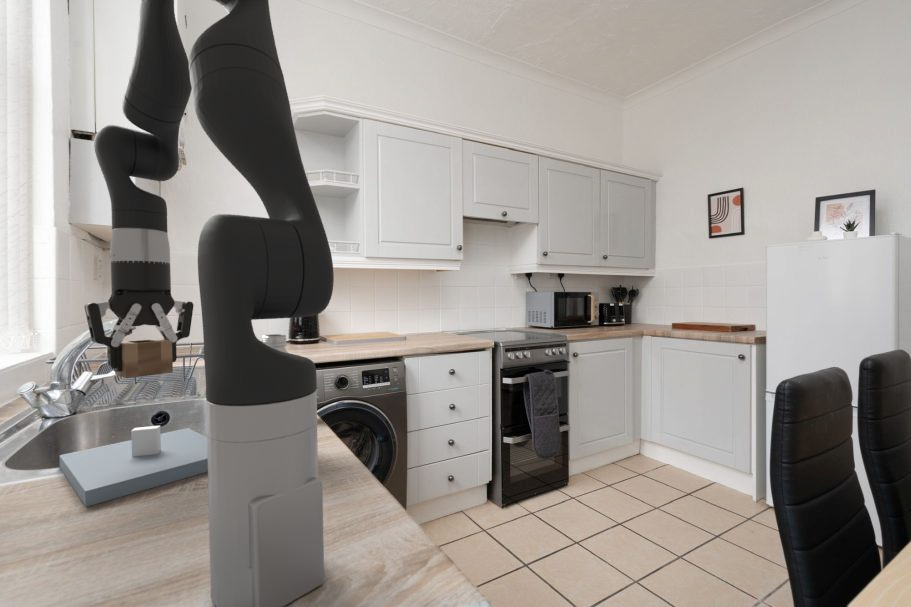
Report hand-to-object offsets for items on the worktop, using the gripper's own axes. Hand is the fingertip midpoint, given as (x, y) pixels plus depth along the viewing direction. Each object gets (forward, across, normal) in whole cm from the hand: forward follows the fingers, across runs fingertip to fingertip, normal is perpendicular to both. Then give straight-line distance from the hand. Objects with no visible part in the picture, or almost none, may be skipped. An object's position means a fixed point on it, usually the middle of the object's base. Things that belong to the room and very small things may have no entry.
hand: (144, 368), depth 68 cm
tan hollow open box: (+1, 0, 0) cm, 1 cm away
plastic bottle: (+16, +15, -12) cm, 25 cm away
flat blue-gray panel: (+15, 0, 0) cm, 15 cm away
